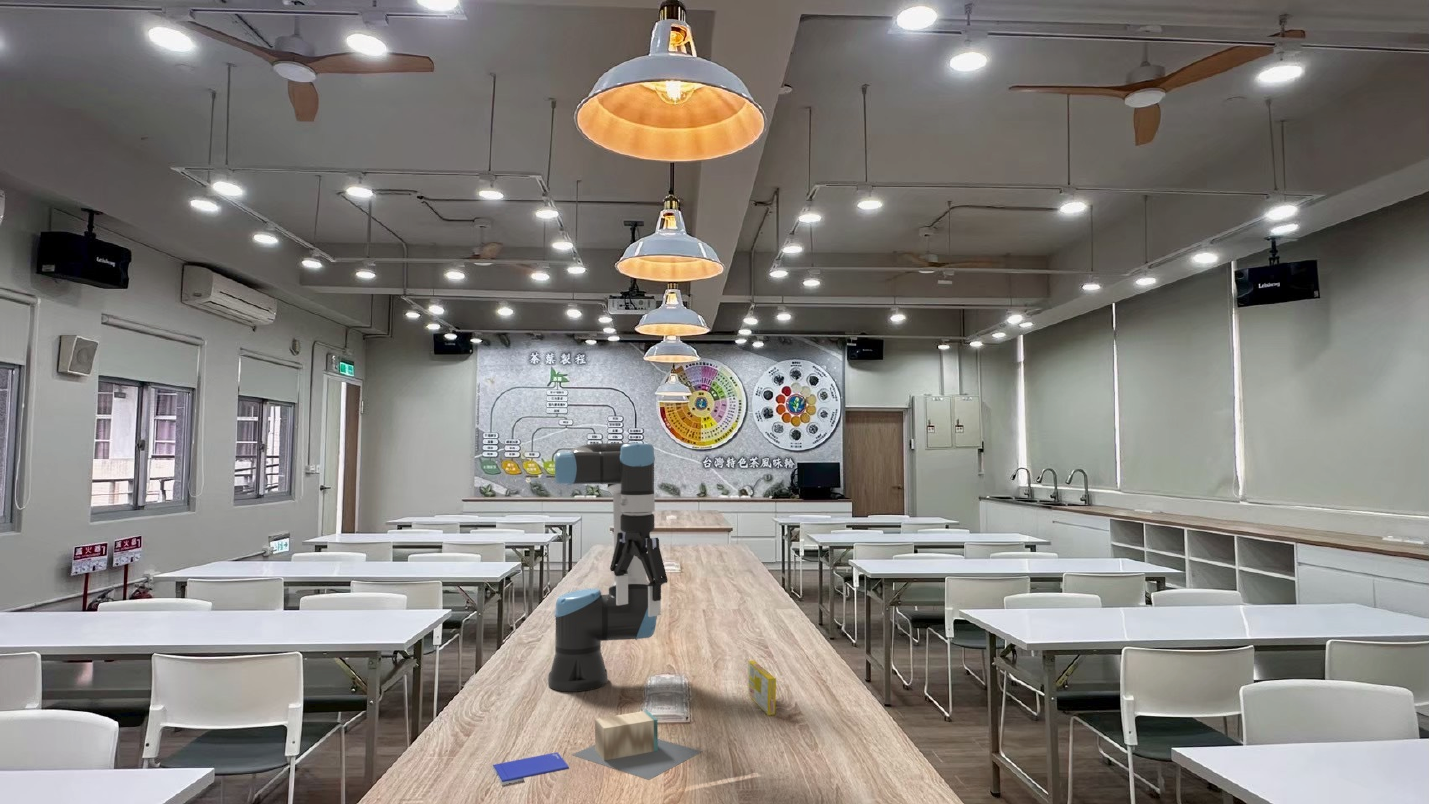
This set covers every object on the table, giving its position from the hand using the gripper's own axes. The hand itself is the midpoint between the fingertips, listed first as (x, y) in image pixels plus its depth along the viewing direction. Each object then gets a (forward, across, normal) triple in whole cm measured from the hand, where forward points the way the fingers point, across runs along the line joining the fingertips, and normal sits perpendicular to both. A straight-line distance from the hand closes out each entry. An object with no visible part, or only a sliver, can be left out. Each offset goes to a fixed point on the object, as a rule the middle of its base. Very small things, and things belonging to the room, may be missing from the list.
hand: (637, 610), depth 170 cm
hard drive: (+25, +9, -29) cm, 39 cm away
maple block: (+21, +12, -16) cm, 28 cm away
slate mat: (+24, +15, -10) cm, 30 cm away
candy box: (+25, +7, +30) cm, 40 cm away
